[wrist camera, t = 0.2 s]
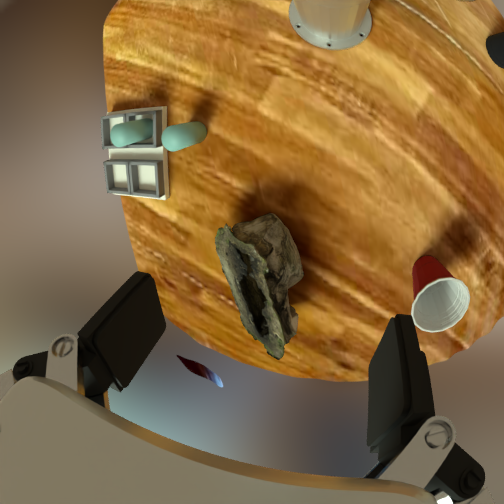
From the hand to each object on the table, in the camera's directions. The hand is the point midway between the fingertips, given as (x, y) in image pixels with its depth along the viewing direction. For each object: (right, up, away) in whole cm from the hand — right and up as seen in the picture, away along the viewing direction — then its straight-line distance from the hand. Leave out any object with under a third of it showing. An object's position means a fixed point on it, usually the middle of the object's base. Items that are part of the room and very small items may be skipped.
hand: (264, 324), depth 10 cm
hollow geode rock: (+3, -1, +44) cm, 44 cm away
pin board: (-23, +22, +38) cm, 49 cm away
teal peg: (-10, +23, +33) cm, 42 cm away
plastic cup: (+32, 0, +34) cm, 47 cm away
